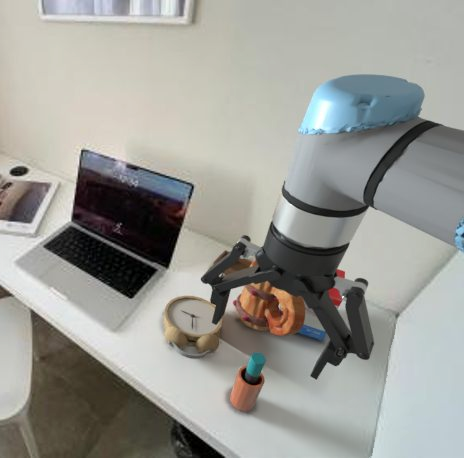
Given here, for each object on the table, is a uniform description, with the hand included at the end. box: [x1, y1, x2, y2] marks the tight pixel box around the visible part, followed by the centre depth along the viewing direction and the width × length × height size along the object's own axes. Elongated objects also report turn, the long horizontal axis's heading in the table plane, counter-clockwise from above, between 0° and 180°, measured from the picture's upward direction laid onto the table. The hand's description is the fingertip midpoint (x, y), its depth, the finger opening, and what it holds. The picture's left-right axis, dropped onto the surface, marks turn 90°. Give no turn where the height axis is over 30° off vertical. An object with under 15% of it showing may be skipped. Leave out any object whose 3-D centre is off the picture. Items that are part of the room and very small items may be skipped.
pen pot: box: [229, 365, 266, 413], centre depth 60 cm, size 4×4×8 cm
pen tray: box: [213, 249, 253, 275], centre depth 84 cm, size 14×6×2 cm, turn 44°
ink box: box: [297, 268, 346, 341], centre depth 69 cm, size 8×5×15 cm, turn 147°
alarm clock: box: [163, 295, 223, 360], centre depth 73 cm, size 11×5×15 cm
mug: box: [232, 259, 305, 337], centre depth 68 cm, size 15×8×15 cm, turn 6°
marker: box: [243, 351, 267, 386], centre depth 58 cm, size 2×2×13 cm
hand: (263, 342), depth 52 cm, fingers open, 13 cm apart
